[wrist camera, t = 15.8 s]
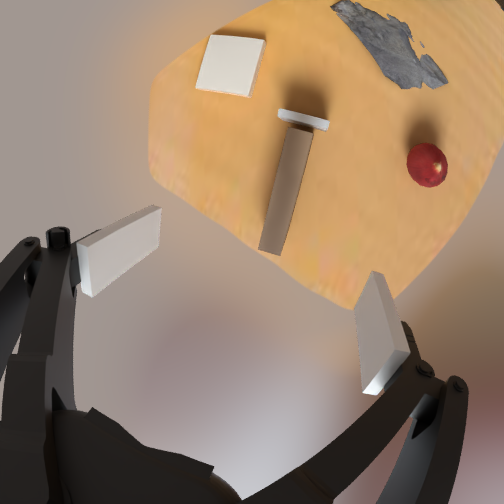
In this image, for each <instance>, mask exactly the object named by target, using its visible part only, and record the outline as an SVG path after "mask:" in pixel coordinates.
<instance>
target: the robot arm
mask: <svg viewBox="0 0 504 504" xmlns="http://www.w3.org/2000/svg"><path fill="white" fill-rule="evenodd" d="M495 1H496V2H497V3H498V4H499V5H500V6H501V9H502V10H503V11H504V0H495ZM161 211H162V208H161V207H158V206H154V205H151V206H148V207H146V208H144V209H142V210H140V211H138V212H135V213H134V214H131V215H129V216H127V217H125V218H123V219H121V220H119V221H117V222H115V223H113V224H111V225H109V226H107V227H105V228H103V229H100V230H96V231H95V232H92V233H91V234H89V235H87V236H85V237H83V238H81V239H80V240H77V241H75V242H74V243H72V244H71V242H70V230H69V229H68V228H66V227H54V228H51V229H49V230H48V231H47V232H46V240H47V248H43V247H41V245H40V239H39V238H37V237H27V238H25V239H23V240H22V241H20V242H19V243H18V244H17V245H16V246H15V248H14V249H13V250H12V251H11V252H10V253H9V254H8V255H7V256H6V257H5V258H4V260H3V261H2V262H1V263H0V381H1V378H2V375H3V373H4V370H5V368H6V365H7V368H6V375H5V382H4V391H3V401H2V420H1V421H0V504H333V500H334V499H335V498H336V497H337V496H338V495H339V494H340V493H341V492H342V491H343V490H344V489H346V488H347V487H348V486H349V485H350V484H351V483H352V482H353V481H354V480H355V479H356V478H357V477H358V476H359V475H360V474H361V473H362V472H363V471H364V470H365V469H366V468H367V467H368V466H369V465H370V463H371V462H372V461H373V460H374V459H375V458H376V457H377V456H378V455H379V454H380V452H381V451H382V450H383V449H384V448H385V447H386V446H387V444H388V443H389V442H390V441H391V439H392V438H393V437H394V436H395V434H396V433H397V432H398V431H399V429H400V428H401V427H402V425H403V424H404V423H405V421H406V420H407V419H408V417H409V416H410V417H412V418H413V421H412V424H411V427H410V430H409V432H408V435H407V438H406V440H405V443H404V445H403V448H402V450H401V453H400V455H399V458H398V460H397V462H396V465H395V467H394V469H393V471H392V473H391V475H390V477H389V480H388V482H387V484H386V486H385V488H384V489H383V491H382V493H381V495H380V497H379V499H378V501H377V502H376V504H448V502H449V499H450V495H451V492H452V489H453V485H454V482H455V478H456V474H457V470H458V466H459V461H460V456H461V451H462V445H463V440H464V433H465V426H466V418H467V407H468V394H469V391H468V387H467V384H466V383H465V382H464V380H463V379H461V378H460V377H458V376H451V377H449V378H448V380H447V381H446V382H444V381H442V380H440V379H438V378H436V377H434V376H435V373H434V370H433V368H432V367H431V366H430V365H429V364H428V363H427V362H426V361H424V360H421V357H420V354H419V351H418V348H417V345H416V343H415V339H414V336H413V333H412V330H411V328H410V327H409V326H408V324H407V323H406V322H403V321H400V318H399V315H398V312H397V309H396V307H395V304H394V301H393V298H392V296H391V293H390V290H389V288H388V285H387V282H386V280H385V277H384V275H383V274H381V273H378V272H375V271H371V274H370V276H369V278H368V280H367V282H366V285H365V287H364V289H363V291H362V293H361V295H360V297H359V299H358V301H357V303H356V306H355V308H354V312H355V320H356V327H357V336H358V346H359V356H360V368H361V381H362V392H363V393H366V394H372V395H377V394H378V393H379V392H380V391H381V390H382V389H383V388H384V391H385V393H384V394H383V395H382V396H381V397H380V398H379V399H378V400H377V401H376V402H375V403H374V404H373V405H372V406H371V407H370V408H369V409H368V410H367V411H366V412H365V413H364V414H363V415H362V416H361V417H360V418H358V419H357V420H356V421H355V422H354V423H353V424H352V425H351V426H350V427H349V428H347V429H346V430H345V431H344V432H343V433H342V434H341V435H339V436H338V437H337V438H336V439H335V440H333V441H332V442H331V443H330V444H329V445H327V446H326V447H325V448H324V449H322V450H321V451H320V452H319V453H317V454H316V455H315V456H313V457H312V458H311V459H309V460H308V461H306V462H305V463H304V464H302V465H301V466H299V467H297V468H296V469H294V470H293V471H291V472H289V473H288V474H286V475H285V476H284V477H282V478H280V479H279V480H277V481H275V482H274V483H272V484H271V485H269V486H267V487H265V488H264V489H262V490H260V491H259V492H257V493H255V494H254V495H251V496H250V497H248V498H246V499H244V500H241V498H240V497H239V495H238V494H237V492H236V491H235V490H234V489H233V488H232V487H231V486H230V485H229V484H228V483H227V482H226V481H224V480H223V479H222V478H220V477H219V476H217V475H215V474H214V473H212V471H213V469H214V466H212V465H209V464H206V463H203V462H200V461H197V460H195V459H192V458H190V457H187V456H184V455H182V454H177V453H173V452H167V451H163V450H158V449H154V448H150V447H146V446H144V445H142V444H141V443H140V442H139V441H137V440H136V439H135V438H134V437H133V436H132V435H131V434H129V433H128V432H127V431H126V430H125V429H124V428H123V427H122V426H121V425H120V424H119V423H117V422H115V421H114V420H112V419H110V418H109V417H107V416H105V415H104V414H102V413H101V412H99V411H97V410H96V409H94V408H93V407H92V408H91V410H90V411H89V412H88V413H87V412H83V411H77V409H76V406H75V401H74V385H73V335H74V318H75V317H74V316H75V305H76V296H77V289H76V285H77V284H79V283H80V282H81V287H82V292H83V293H85V294H87V295H89V296H91V297H92V298H93V297H94V296H95V295H96V294H98V293H99V292H100V291H101V290H103V289H104V288H105V287H106V286H108V285H109V284H110V283H112V282H113V281H114V280H115V279H117V278H118V277H119V276H121V275H122V274H123V273H124V272H126V271H127V270H128V269H130V268H131V267H132V266H134V265H135V264H136V263H137V262H139V261H140V260H142V259H143V258H144V257H146V256H147V255H148V254H150V253H151V252H152V251H154V250H155V249H156V248H158V247H159V234H160V222H161ZM24 274H25V280H24ZM21 332H22V333H21ZM20 334H21V338H20V343H19V349H18V353H17V354H12V351H13V349H14V347H15V345H16V342H17V340H18V338H19V336H20Z"/></svg>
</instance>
